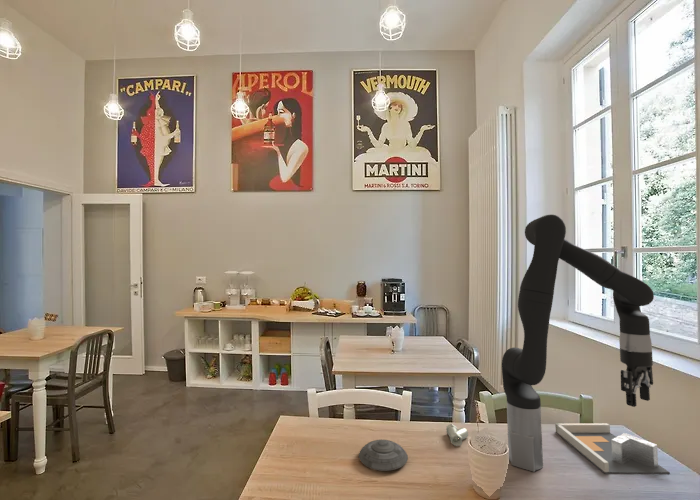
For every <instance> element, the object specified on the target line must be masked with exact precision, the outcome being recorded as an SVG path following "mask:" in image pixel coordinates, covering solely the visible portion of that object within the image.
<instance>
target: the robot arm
mask: <svg viewBox="0 0 700 500" xmlns="http://www.w3.org/2000/svg"><path fill="white" fill-rule="evenodd" d="M566 229H567V228H566V224H565V222H564V219H562V218H561V217H560V216H559V215H556V214H546V215H542V216H540V217H537V218H536V219H533V220H531V221H530V222H529V223H527V225H526V226H525V229H524V237H525V238H526V240H527V241H528V242H529V243H530V244H531V245H533V246H534V247H533V254H532V259H531V261H530V264H529V266H528V268H527V270H526V271H525V274H524V275H523V278H522V281H521V283H520V287H519V292H518V298H517V310H518V314H519V316H520V317H519V318H520V321H521V323H522V327H523V333H524V334H523V345H522V348H519V347H510V348H508V349H507V350H505V352H504V353H503V356H502V359H501V377H502V386H503V391H504V393H505V396H506V417H507V418H506V422H507V423H506V424H507V447H508V448H509V452H508V460H509V462H510V463H511V466H514V467H517V468H520V469H523V470H527V471H531V472H534V473H536V471H538V470H542V468H543V466H544V459H543V458H544V457H543V432H542V410H541V408H542V405H541V404H542V403H541V397H540V394H539V393H538V392H537V391H536V390H535V388H533V386H536V385H538V384H540V383H541V382H542V381H543V379H544V376H545V375H546V369H547V356H548V355H547V353H548V348H547V347H548V337H549V336H548V335H549V326H550V319H551V313H552V307H553V301H554V294H555V285H556V279H557V272H558V265H559V261H560V260H562V261H563V262H565V263H567V264H568V265H570V266H571V267H573V268H574V269H576V270H578V271H579V272H580V273H582V274H583V275H585V276H586V277H587V278H589V279H591V280H592V281H593V282H595V283H596V284H597V285H599V286H601V287H602V288H605V289H609V290H611V291H613V292H612V298H613V303H614V307H615V310H616V312H617V316H618V319H619V337H618V338H619V339H618V340H619V341H618V342H619V358H620V360H619V361H620V362H621V363H622V364H623V365H624V364H625V365H626V370H625V369H624V370H622V369H621V370H620V390H621V391H622V392H625V402H626V405H627V406H630V407H634V408H635V407H637V394H636V393H637V390H638V388H639V398H640V400H643V401H647V402H648V401H650V400H651V396H650V395H651V393H650V392H651V391H650V389H651V387H652V386H653V384H654V377H653V375H654V374H653V367H652V366H653V364H654V361H653V346H652V345H653V343H652V338H651V329H650V328H651V327H650V319H649V317H648V316H647V314H644V313H643V312H642V311H641V307H645V306H648V305H650V304H651V303H652V302H653V301H654V298H655V295H654V291H653V289H652V287H650V285H649V284H647V283H646V282H644V281H642V280H641V279H639V278H637V277H636V276H633V275H631V274H629V273H627V272H625V271H623V270H620V269H619V268H618V267H617V266H615V265H614V264H612V263H611V262H610V261H608V260H607V259H605V258H604V257H602V256H600V255H598V254H596V253H594V252H592V251H589V250H587V249H584V248H582V247H580V246H578V245H575V244H574V243H572V242H570V241H569V240H567V239H565V237H566V233H567V230H566Z"/></svg>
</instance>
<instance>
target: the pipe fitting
mask: <svg viewBox="0 0 700 500" xmlns="http://www.w3.org/2000/svg"><path fill="white" fill-rule="evenodd" d="M446 434H447V435H448V436H449V439H450V443H451V444H452V445H453V446H455V447H459V446H461V445H462V444H463V440H465V439H467V438H468V437H469V432H468V430H467V429H466V428H465V427H460V428H458V427H457V426H456V425H454V424H453V423H450V424H448V425H446ZM458 438H459V439H458Z"/></svg>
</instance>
